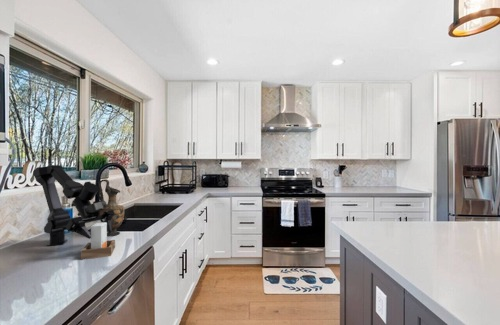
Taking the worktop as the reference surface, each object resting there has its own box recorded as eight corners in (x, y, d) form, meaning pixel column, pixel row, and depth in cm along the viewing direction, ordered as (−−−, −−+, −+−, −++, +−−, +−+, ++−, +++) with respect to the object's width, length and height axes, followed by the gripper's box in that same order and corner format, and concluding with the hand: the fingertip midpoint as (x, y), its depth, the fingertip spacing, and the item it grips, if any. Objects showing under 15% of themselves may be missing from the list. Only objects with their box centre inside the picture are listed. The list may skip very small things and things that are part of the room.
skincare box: (101, 253, 102) (101, 225, 102) (90, 254, 101) (90, 226, 101) (107, 248, 108) (107, 222, 108) (96, 249, 107) (96, 222, 107)
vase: (121, 236, 127) (120, 179, 126) (94, 238, 124) (94, 180, 124) (127, 230, 138) (126, 178, 138) (103, 231, 135) (102, 178, 135)
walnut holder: (88, 250, 107) (88, 242, 107) (115, 247, 111) (115, 239, 111) (81, 259, 97) (81, 251, 97) (111, 255, 101) (110, 247, 101)
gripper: (69, 198, 97) (87, 229, 93) (112, 192, 114) (129, 218, 110) (58, 216, 100) (74, 246, 96) (101, 208, 117) (117, 233, 113)
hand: (101, 235), depth 104 cm, fingers open, 9 cm apart
